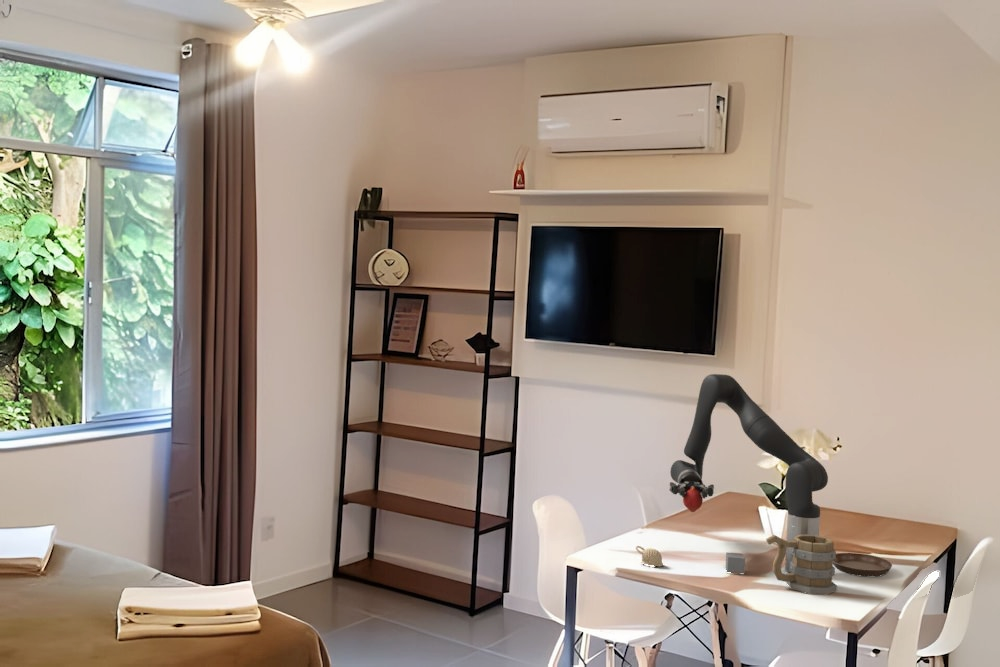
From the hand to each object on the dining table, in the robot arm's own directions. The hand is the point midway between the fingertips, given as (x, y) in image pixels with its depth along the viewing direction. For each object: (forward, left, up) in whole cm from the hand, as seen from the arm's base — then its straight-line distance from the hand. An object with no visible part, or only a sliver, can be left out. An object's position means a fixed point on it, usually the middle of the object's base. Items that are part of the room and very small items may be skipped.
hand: (694, 494), depth 296 cm
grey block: (-13, -3, -22) cm, 25 cm away
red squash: (+1, -2, -6) cm, 7 cm away
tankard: (-33, -1, -22) cm, 39 cm away
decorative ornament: (+9, +8, -22) cm, 25 cm away
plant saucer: (-41, -32, -22) cm, 56 cm away
